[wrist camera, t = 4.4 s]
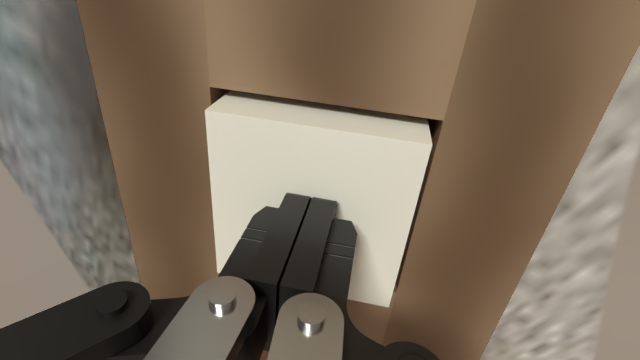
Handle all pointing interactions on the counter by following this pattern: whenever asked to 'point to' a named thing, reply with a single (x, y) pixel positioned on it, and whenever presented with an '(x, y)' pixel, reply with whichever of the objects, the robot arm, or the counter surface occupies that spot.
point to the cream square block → (319, 174)
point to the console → (378, 95)
